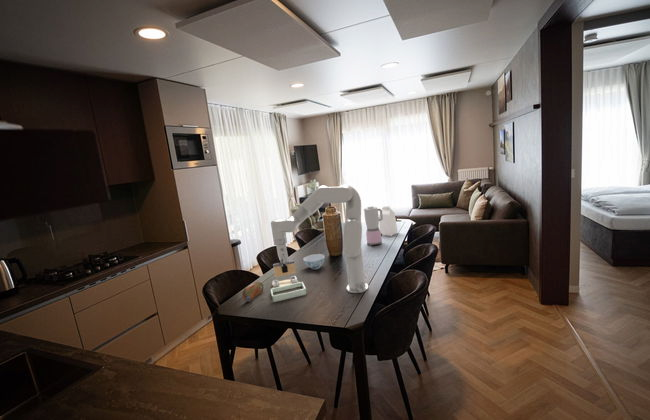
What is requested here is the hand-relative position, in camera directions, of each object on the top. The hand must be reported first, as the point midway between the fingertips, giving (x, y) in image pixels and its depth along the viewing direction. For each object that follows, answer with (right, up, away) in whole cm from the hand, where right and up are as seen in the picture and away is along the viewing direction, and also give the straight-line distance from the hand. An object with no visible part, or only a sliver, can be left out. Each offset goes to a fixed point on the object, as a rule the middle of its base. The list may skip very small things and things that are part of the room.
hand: (284, 271), depth 177 cm
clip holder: (-2, -12, +17) cm, 21 cm away
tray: (+2, -14, +2) cm, 14 cm away
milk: (+82, +13, +104) cm, 134 cm away
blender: (+67, +7, +79) cm, 104 cm away
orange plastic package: (-19, -17, +4) cm, 25 cm away
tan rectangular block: (0, -2, 0) cm, 2 cm away
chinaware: (+17, -6, +41) cm, 44 cm away
